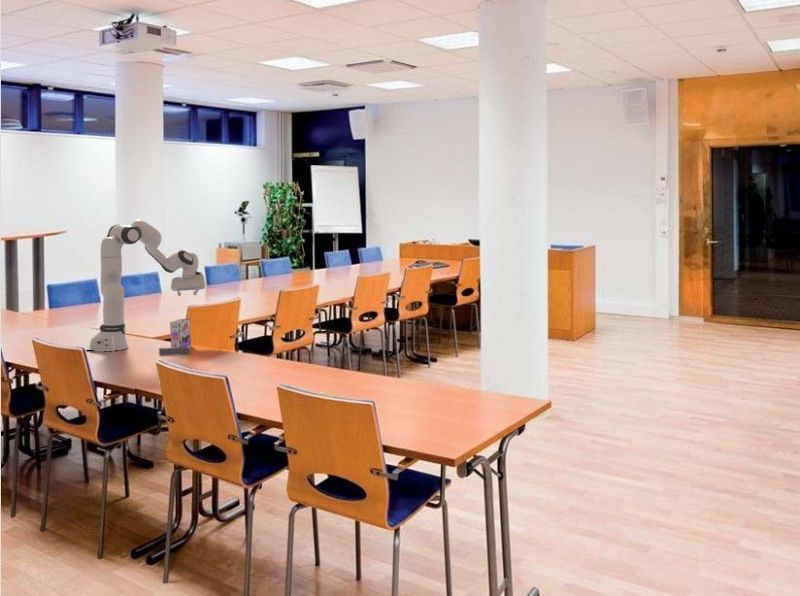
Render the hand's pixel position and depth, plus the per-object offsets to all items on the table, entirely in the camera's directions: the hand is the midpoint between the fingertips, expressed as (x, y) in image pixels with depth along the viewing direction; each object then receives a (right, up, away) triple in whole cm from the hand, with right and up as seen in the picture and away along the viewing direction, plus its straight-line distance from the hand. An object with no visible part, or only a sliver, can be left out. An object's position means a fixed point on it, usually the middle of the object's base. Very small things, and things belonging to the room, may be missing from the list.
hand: (187, 295), depth 444 cm
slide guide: (+2, -32, -26) cm, 42 cm away
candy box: (+2, -31, -18) cm, 36 cm away
